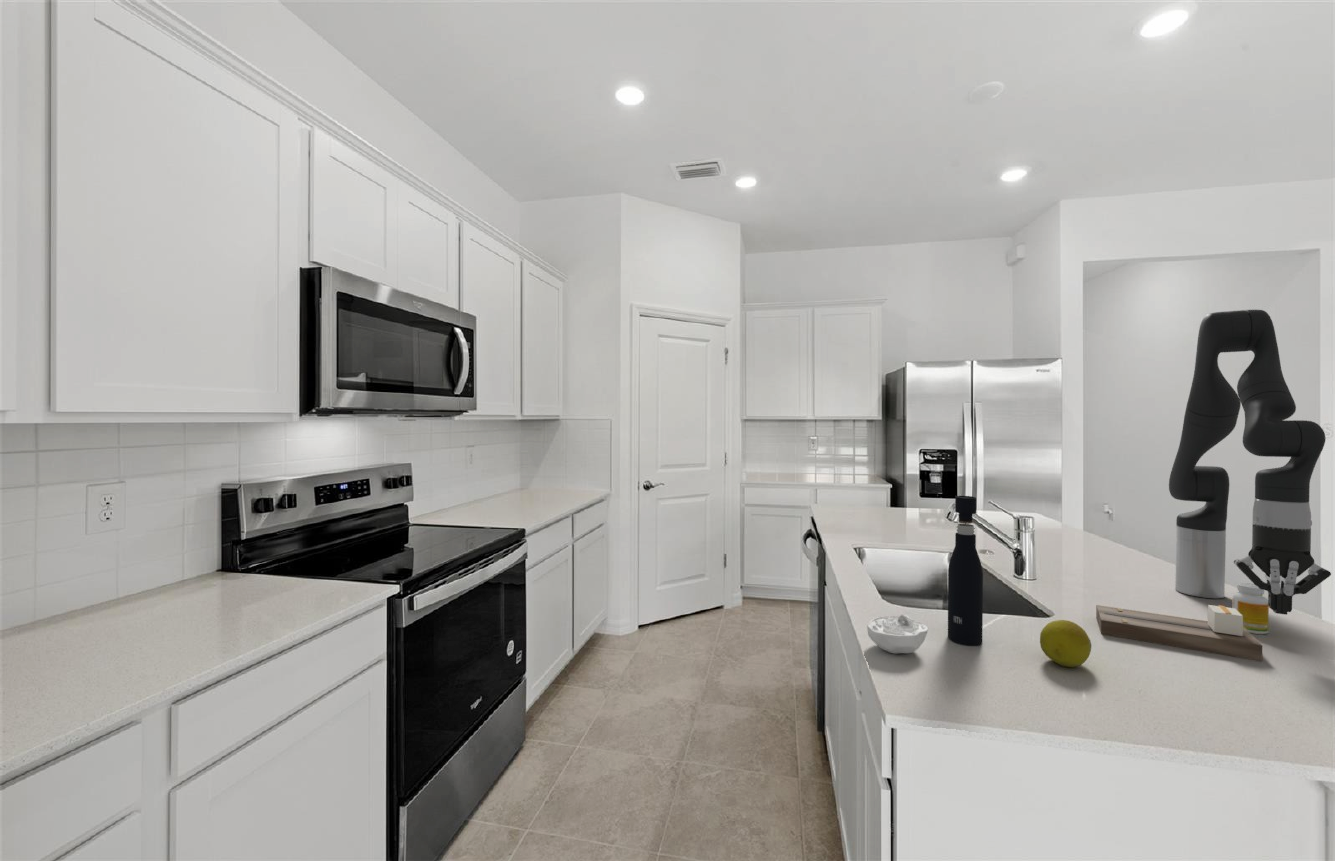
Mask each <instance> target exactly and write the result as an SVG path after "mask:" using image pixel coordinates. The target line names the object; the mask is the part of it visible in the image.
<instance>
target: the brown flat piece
mask: <svg viewBox="0 0 1335 861" xmlns="http://www.w3.org/2000/svg"><path fill="white" fill-rule="evenodd" d="M1095 610H1096V612H1095V614H1096V616H1095V619H1096V622H1097V626H1098V628H1099V632H1100V634H1101V635H1106V636H1113V637H1118V638H1122V639H1130V640H1133V641H1134V640H1135V641H1141V642H1147V643H1153V644H1159V645H1165V646H1172V647H1176V648H1183V649H1187V650H1194V651H1195V650H1196V651H1201V652H1206V653H1211V654H1213V653H1214V654H1218V655H1224V656H1230V657H1236V658H1242V659H1248V660H1253V661H1259V662H1263V645H1262V643H1261V642H1260V641H1258V639H1257V638H1256V637H1255V636H1254V635H1253V633H1250V632H1249V631H1248V630H1247V629H1246V628H1245V627H1243V636H1238V635H1231V634H1225V633H1218V632H1214V631H1213V630H1212V629H1211V627H1210V626H1209V625H1208V620H1201V619H1195V618H1188V617H1181V616H1175V615H1174V616H1173V615H1167V614H1159V613H1154V612H1146V611H1141V610H1134V609H1133V610H1132V609H1125V608H1121V607H1113V606H1105V605H1100V604H1099V605H1098V604H1096V606H1095Z"/></svg>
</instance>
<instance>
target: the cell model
mask: <svg viewBox="0 0 1335 861" xmlns="http://www.w3.org/2000/svg"><path fill="white" fill-rule="evenodd" d="M866 627H867V628H866V630H867V635H868V637H869V639H870V640H871V641H872V642H873V643H874V644H875V645H876V646H877V647H878V648H880V649H882V650H883V651H886V652H888V653H890V654H912V653H915V651H917V650H918V649H919V648H920V647H921V646H922V645H923V643H924V641H925V640H926V637H927V634H928V632H929V627H928V626H927V625H926V624H924V623H922V622H920V621H917V620H914V619H912V618H911V617H909V616H908V615H907V614H900V615H899V616H895V615H892V616H882V615H881V616H878V617H874V618H872V619H870V621H869V622H868V623H867V624H866Z"/></svg>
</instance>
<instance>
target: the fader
mask: <svg viewBox="0 0 1335 861" xmlns="http://www.w3.org/2000/svg"><path fill="white" fill-rule="evenodd" d="M1207 621H1208V625H1209V626H1210V627H1211V629H1212V630H1213V631H1214V632H1218V633H1225V634H1231V635H1238V636H1243V616H1242V615H1241V614H1240V613H1239V612H1238V611H1237V610H1236V609H1235V608H1232V607H1227V606H1225V605H1220V604H1219V605H1214V604H1213V605H1212V604H1211V605H1210V604H1207Z"/></svg>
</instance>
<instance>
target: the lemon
mask: <svg viewBox="0 0 1335 861" xmlns="http://www.w3.org/2000/svg"><path fill="white" fill-rule="evenodd" d="M1039 645H1040V648H1041V650H1042V652H1043V654H1044V655H1045V656H1047V657H1048V659H1050V660H1051V661H1053V662H1054V663H1056V664H1058V665H1059V666H1062V667H1066V668H1073V667H1074V668H1075V667H1079V666H1081V665H1083V664H1084V663H1085V662H1086V661H1088V658H1089V657H1090V655H1091V652H1092V643H1091V639H1090V637H1089V634H1087V632H1086V630H1085V629H1084V628H1082V626H1080V625H1078V624H1077V623H1076V622H1074V621H1071V620H1065V619H1056V620H1052V621H1051V622H1049V623H1047V624H1046V625H1045V626H1044V627H1043V628H1042V630H1041V632H1040V634H1039Z"/></svg>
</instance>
